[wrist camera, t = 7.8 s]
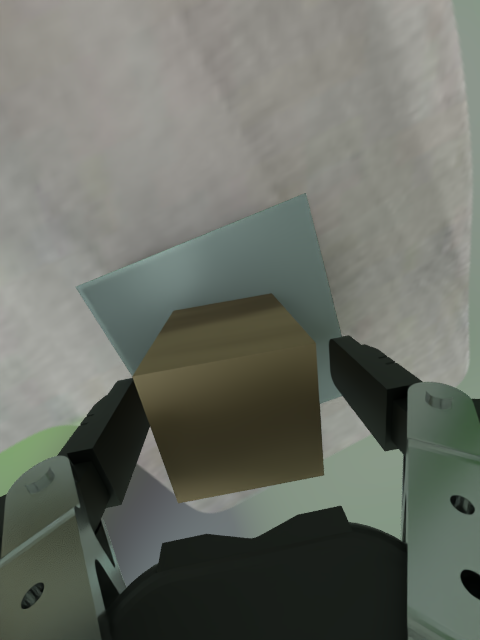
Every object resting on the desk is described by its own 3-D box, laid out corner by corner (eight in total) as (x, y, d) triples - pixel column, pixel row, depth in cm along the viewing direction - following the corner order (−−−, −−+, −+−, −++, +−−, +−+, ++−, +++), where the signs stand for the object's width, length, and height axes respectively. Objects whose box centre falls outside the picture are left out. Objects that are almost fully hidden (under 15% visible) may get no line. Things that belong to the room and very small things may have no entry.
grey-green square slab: (117, 271, 16) (75, 286, 11) (279, 205, 16) (305, 193, 11) (190, 402, 20) (181, 453, 15) (322, 352, 19) (355, 390, 15)
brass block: (173, 310, 12) (132, 376, 6) (271, 293, 12) (315, 342, 7) (195, 393, 14) (178, 503, 8) (282, 377, 14) (324, 475, 8)
